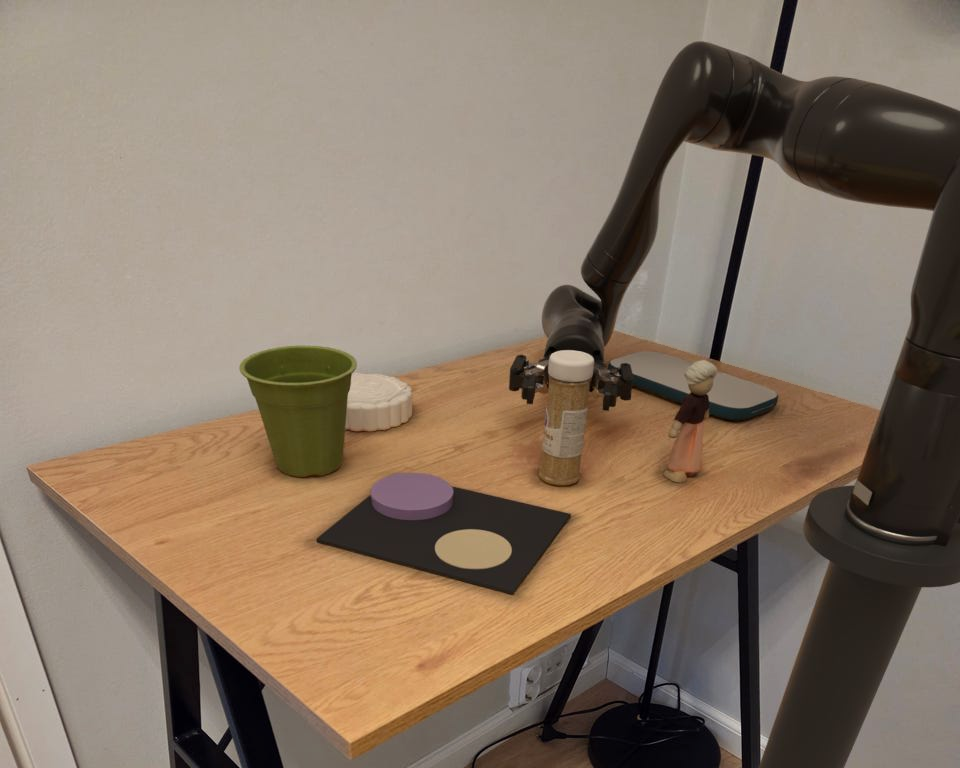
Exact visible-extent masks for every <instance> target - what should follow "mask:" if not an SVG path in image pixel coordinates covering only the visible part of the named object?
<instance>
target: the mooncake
mask: <svg viewBox="0 0 960 768" xmlns="http://www.w3.org/2000/svg"><path fill="white" fill-rule="evenodd" d="M412 416H413V389H412V387H410V386H409V385H408V383H407V382H405V381H401V379H399V378H397V377H395V376H388V375H386V374H384V373H361V372H353V373H352V376H351V386H350V391H349V392H348V400H347V412H346V423H345V431H348V430H350V431H352V432H363V431H364V432H368V433H369V432H370V433H371V432H375V431H386V430H389V429H390V428H397V427H400V426H401V424H405V423H407V422H408V421H409V420H410V418H411V417H412Z"/></svg>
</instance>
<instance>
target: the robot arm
mask: <svg viewBox="0 0 960 768" xmlns="http://www.w3.org/2000/svg"><path fill="white" fill-rule="evenodd" d="M684 142H686V143H689V144H691V145H695V146H699V147H703V148H706V149H710V150H714V151H719V152H729V153H737V154H745V155H752V156H756V157H762V158H766V159H769V160H772V161H773V162H775V163H776V164H777V165H778V166H779V168H780V169H781V170H782V171H783V172H784V174H786V175H787V176H788V177H790V178H791V179H792V180H795V181H796V182H798V183H800V184H802V185H804V186H807V187H808V188H811V189H815V190H817V191H819V192H821V193H824V194H827V195H830V196H833V197H835V198H839V199H842V200H847V201H852V202H856V203H863V204H868V205H876V206H884V207H893V208H902V209H903V208H904V209H913V210H924V211H932V214H931V218H930V222H929V226H928V228H927V233H926V236H925V239H924V242H923V247H922V250H921V253H920V257H919V261H918V264H917V268H916V272H915V275H914V277H913V281H912V282H913V283H912V287H911V291H910V313H911V314H910V322H909V325H908V328H907V332H906V335H905V337H904V340H903V343H902V346H901V348H900V351H899V354H898V358H897V360H896V363H895V366H894V369H893V372H892V375H891V378H890V381H889V384H888V386H887V389H886V393H885V395H884V398H883V401H882V404H881V407H880V409H879V410H880V411H879V412H878V416H877V418H876V422H875V425H874V427H873V430H872V433H871V436H870V439H869V443H868V446H867V448H866V451H865V454H864V457H863V459H862V463H861V466H860V468H859V471H858V473H857V474H858V475H857V478H856V481H855V482H854V483H855V484H854V485H855V486H854V485H853V486H854V489H853V490H852V493H851V496H850V499H849V501H848V503H847V506H846V509H845V515H846V518H847V519H848V521H849V522H850V523H851V524H852V525H854V526H855V527H856V528H858V529H859V530H861V531H863V532H865V533H867V534H869V535H871V536H873V537H876V538H879V539H882V540H885V541H889V542H893V543H898V544H904V545H914V546H923V545H933V544H934V545H940V546H947V544H948V541H949V539H950V537H951V534H952V532H953V530H954V528H955V525H956V523H959V524H960V110H959V109H957V108H954V107H952V106H948V105H946V104H944V103H941V102H938V101H935V100H932V99H929V98H926V97H923V96H919V95H917V94H913V93H910V92H907V91H904V90H900V89H897V88H894V87H891V86H888V85H884V84H881V83H876V82H872V81H867V80H863V79H858V78H853V77H845V76H837V75H836V76H835V75H834V76H824V77H820V78H816V79H812V80H808V81H807V80H806V81H805V80H799V79H796V78H793V77H791V76H788V75H786V74H784V73H781V72H779V71H777V70H776V69H774V68H771V67H769V66H768V65H765V64H763V62H760V61H758V60H757V59H755V58H753V57H751V56H748V55H746V54H743V53H740V52H737V51H734V50H732V49H729V48H726V47H722V46H721V45H718V44H714V43H712V42H707V41H704V40H703V41H702V40H699V41H698V40H697V41H693V42H691V43H688V44H687V45H685V46H684V47H683V48H682V49H680V51H678V53H677V55H675V57H674V59H672V61H671V63H670V64H669V67H667V70H666V72H665V74H664V76H663V77H662V79H661V82H660V84H659V86H658V89H657V91H656V94H655V96H654V98H653V101H652V104H651V106H650V109H649V111H648V114H647V116H646V119H645V121H644V124H643V127H642V129H641V132H640V134H639V137H638V139H637V142H636V145H635V148H634V150H633V153H632V155H631V158H630V161H629V164H628V167H627V169H626V172H625V175H624V177H623V180H622V182H621V186H620V188H619V191H618V193H617V196H616V198H615V199H614V202H613V205H612V207H611V209H610V211H609V213H608V215H607V217H606V219H605V220H604V222H603V224H602V226H601V228H600V230H598V233H597V235H596V237H595V238H594V240H593V242H592V244H591V246H590V248H589V250H588V251H587V253H586V255H585V257H584V259H583V261H582V263H581V265H580V275H581V278H582V280H583V282H584V283H585V284H586V286H587V287H588V288H589V289H590V290H591V291H592V292H593V293H594V294H595V295H596V296H597V297H598V298H599V299H598V298H597V297H594V296H593V295H591V294H589V293H588V292H586V291H583V289H580V288H578V287H576V286H575V285H572V284H562V285H559V286H557V287H555V288H554V289H553V290H552V291H551V292H550V293H549V295H548V296H547V298H546V300H545V301H544V305H543V308H542V312H541V326H542V327H541V328H542V331H543V333H544V335H545V337H546V338H547V340H546V344H545V348H544V352H543V357H542V358H541V359H539V360H538V361H537V362H531V361H530V360H529V359H528V358H527V356H526V355H525V354H517V355H516V356H515V358H514V360H513V362H512V364H511V366H510V368H509V379H508V380H509V381H508V390H509V391H511V392H518V391H520V389H521V396H520V397H521V399H522V400H524V401H525V400H526V405H533V404H534V400H535V397H536V394H537V393H539V394H543V395H546V394H548V388H549V374H548V366H549V358H550V355H551V354H552V353H554V352H557V351H562V350H574V351H581V352H584V353H587V354H589V355H591V356H592V357H593V358H594V369H593V376H592V377H591V381H590V387H589V395H588V396H590V397H592V398H593V399H598V398H601V399H602V411H604V412H606V411H607V412H609V411H610V408H614V407H616V403H617V398H619V399H620V400H622V401H624V402H625V401H626V402H627V401H630V400H631V401H632V391H633V385H632V384H633V381H634V377H633V373H632V369H631V365H630V364H628V363H622V364H620V367H619V366H618V367H617V369H608V364H605V347H606V346H607V345H608V344H609V342H610V341H611V339H612V336H613V333H614V330H615V328H616V322H617V318H618V315H619V311H620V308H621V305H622V301H623V300H624V298H625V297H624V296H625V294H626V292H627V291H628V288H629V287H630V285H631V283H632V282H633V280H634V278H635V277H636V275H637V273H638V272H639V270H640V268H641V267H642V266H643V264H644V262H645V260H646V259H647V257H648V255H649V253H650V252H651V250H652V247H653V245H654V243H655V240H656V237H657V233H658V228H659V221H660V220H659V219H660V201H661V199H660V198H661V189H662V185H663V183H662V182H663V178H664V176H665V173H666V170H667V168H668V166H669V164H670V162H671V161H672V159H673V157H674V156H675V154H676V153H677V151H678V150H679V148H680V147H681V146H682V145H683V143H684Z"/></svg>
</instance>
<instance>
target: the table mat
mask: <svg viewBox="0 0 960 768" xmlns="http://www.w3.org/2000/svg"><path fill="white" fill-rule="evenodd" d="M451 486H452V485H451ZM452 488H453V492H454V494H453V505H452V507H451V508H450V509H449V510H448V511H447V512H446V513H444V514H442V515H440V516H437V517H434V518H431V519H425V520H400V519H395V518H391V517H388V516H385V515H383V514H381V513H379V512H378V511H376V510H375V509H374V507H373V506H372V503H371V494H369V495H368V496H367V497H366V498H364V499H363V500H362V501H361V502H359V503H358V504H357V505H355V507H353V508H352V509H351V510H349V511H348V512H347V513H346V514H345V515H343V516H342V517H341V518H340V519H338V521H336V522H334V524H332V525H331V526H330V527H328V529H326V530H325V531H324V532H323V533H321V534H320V535H319V536H318V537H316V538H315V539H316V543H318V544H321V545H326V546H329V547H334V548H336V549H341V550H345V551H348V552H352V553H356V554H360V555H363V556H367V557H371V558H375V559H378V560H382V561H385V562H389V563H393V564H396V565H401V566H404V567H408V568H412V569H416V570H419V571H423V572H427V573H430V574H434V575H438V576H441V577H445V578H449V579H454V580H456V581H460V582H462V583H463V582H464V583H467V584H471V585H474V586H479V587H482V588H486V589H489V590H492V591H497V592H501V593H505V594H509V595H511V596H513V595H514V594H515V593H516V592H517V590H518V589H519V587H520V586H521V584H522V583H523V582H524V581H525V579H526V578H527V576H528V575H529V574H530V573H531V571H532V570H533V569H534V567H535V566H536V565H537V563H538V562H539V560H541V558H542V557H543V555H544V554H545V553H546V551H547V550H548V549H549V547H550V546H551V544H552V543H553V542H554V540H555V539H556V538H557V536H558V535H559V534H560V532H561V531H562V530H563V529H564V527H565V525H566V524H567V523H568V522H569V520H570V519H571V518H572V517H571V516H572V513H569V512H565V511H561V510H555V509H551V508H547V507H544V506H539V505H534V504H530V503H526V502H521V501H517V500H513V499H508V498H504V497H500V496H496V495H491V494H487V493H482V492H478V491H474V490H469V489H466V488H461V487H457V486H454V485H453V486H452Z"/></svg>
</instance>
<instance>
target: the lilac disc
mask: <svg viewBox="0 0 960 768" xmlns="http://www.w3.org/2000/svg"><path fill="white" fill-rule="evenodd" d="M453 494H454V492H453V488H452V484H450V482H449V481H447V480H446V479H445V478H442V477H440V476H437V475H433V474H429V473H422V472H400V473H399V472H398V473H395V474H390V475H387V476H383V477H382V478H380V479H378V480H377V481H375V482H374V483H373V484H372V486H371V488H370V495H371V503H372V506H373V507H374V509H375V510H376V511H378V512H379V513H381V514H383V515H385V516H388V517H391V518H395V519H400V520H425V519H431V518H434V517H437V516H440V515H442V514H444V513H446V512H447V511H448V510H449V509H450V508H451V507H452V505H453Z"/></svg>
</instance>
